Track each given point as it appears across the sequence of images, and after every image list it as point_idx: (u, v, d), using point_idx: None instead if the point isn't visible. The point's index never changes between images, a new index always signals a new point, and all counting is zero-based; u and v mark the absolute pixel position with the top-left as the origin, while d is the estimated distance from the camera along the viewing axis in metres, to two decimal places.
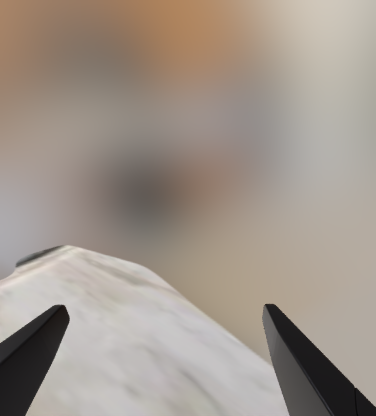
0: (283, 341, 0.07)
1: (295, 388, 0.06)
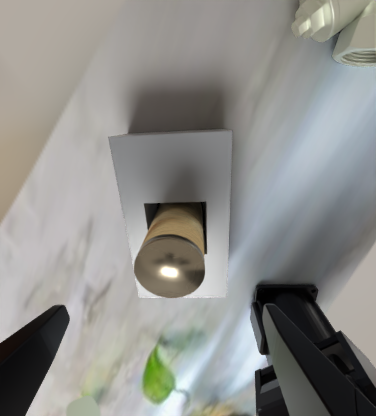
0: (283, 341, 0.07)
1: (295, 388, 0.06)
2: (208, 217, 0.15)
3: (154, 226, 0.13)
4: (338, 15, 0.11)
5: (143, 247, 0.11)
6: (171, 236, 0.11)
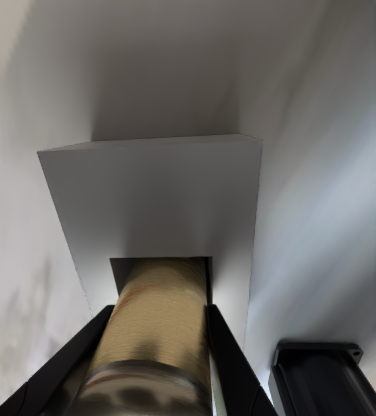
0: (210, 341, 0.07)
1: (216, 387, 0.06)
2: (215, 279, 0.09)
3: (118, 316, 0.07)
4: None
5: (82, 394, 0.05)
6: (142, 369, 0.05)
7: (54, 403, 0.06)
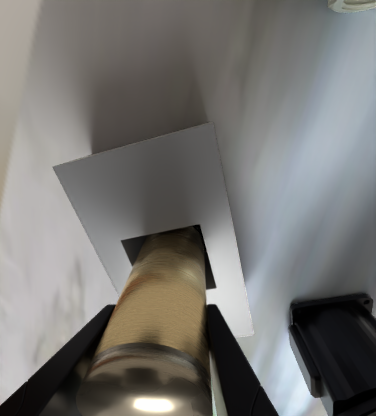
0: (210, 341, 0.07)
1: (216, 387, 0.06)
2: (207, 243, 0.11)
3: (116, 310, 0.08)
4: None
5: (84, 379, 0.06)
6: (132, 350, 0.06)
7: (53, 403, 0.06)
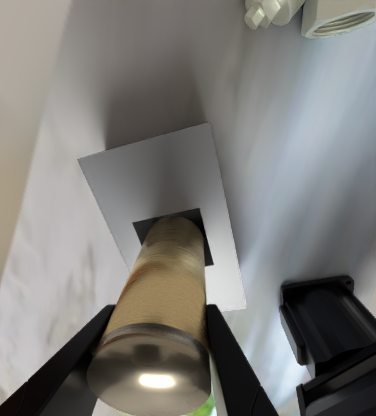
0: (210, 341, 0.07)
1: (216, 386, 0.06)
2: (205, 224, 0.13)
3: (122, 297, 0.08)
4: None
5: (94, 356, 0.06)
6: (138, 329, 0.06)
7: (54, 403, 0.06)
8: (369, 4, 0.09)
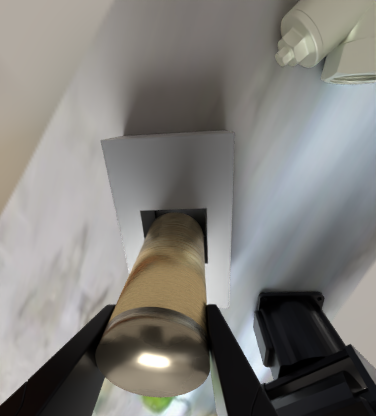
0: (210, 341, 0.07)
1: (216, 386, 0.06)
2: (209, 225, 0.14)
3: (132, 281, 0.09)
4: (321, 45, 0.11)
5: (109, 331, 0.07)
6: (155, 312, 0.07)
7: (53, 403, 0.06)
8: None
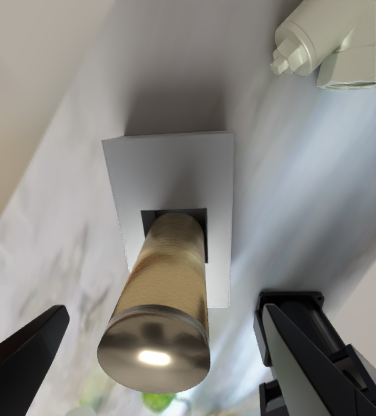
0: (283, 341, 0.07)
1: (295, 388, 0.06)
2: (209, 224, 0.14)
3: (133, 280, 0.09)
4: (315, 55, 0.11)
5: (110, 328, 0.07)
6: (155, 309, 0.07)
7: None
8: None
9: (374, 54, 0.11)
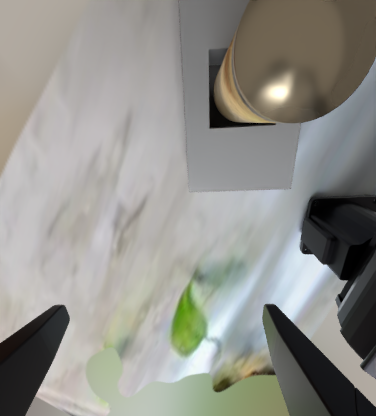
0: (283, 341, 0.07)
1: (295, 388, 0.06)
2: None
3: None
4: None
5: None
6: None
7: None
8: None
9: None
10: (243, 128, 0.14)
